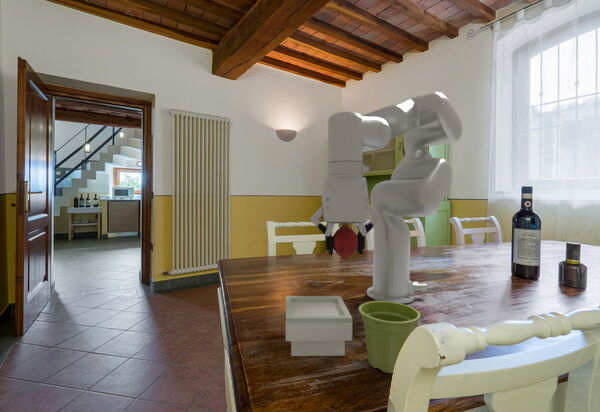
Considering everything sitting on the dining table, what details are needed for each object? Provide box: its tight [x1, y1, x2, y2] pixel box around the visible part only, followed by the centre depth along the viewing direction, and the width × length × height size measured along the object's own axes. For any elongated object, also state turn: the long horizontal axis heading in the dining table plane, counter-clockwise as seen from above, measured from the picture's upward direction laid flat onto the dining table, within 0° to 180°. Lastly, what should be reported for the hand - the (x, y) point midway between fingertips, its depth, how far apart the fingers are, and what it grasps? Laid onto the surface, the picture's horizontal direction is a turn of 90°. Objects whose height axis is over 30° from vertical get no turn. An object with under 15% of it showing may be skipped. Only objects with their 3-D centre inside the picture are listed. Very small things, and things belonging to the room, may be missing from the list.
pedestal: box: [285, 295, 353, 357], centre depth 55 cm, size 11×11×7 cm
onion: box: [332, 223, 358, 260], centre depth 66 cm, size 6×6×8 cm
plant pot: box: [358, 300, 421, 374], centre depth 48 cm, size 9×9×9 cm
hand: (344, 252), depth 66 cm, fingers closed on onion, 5 cm apart
